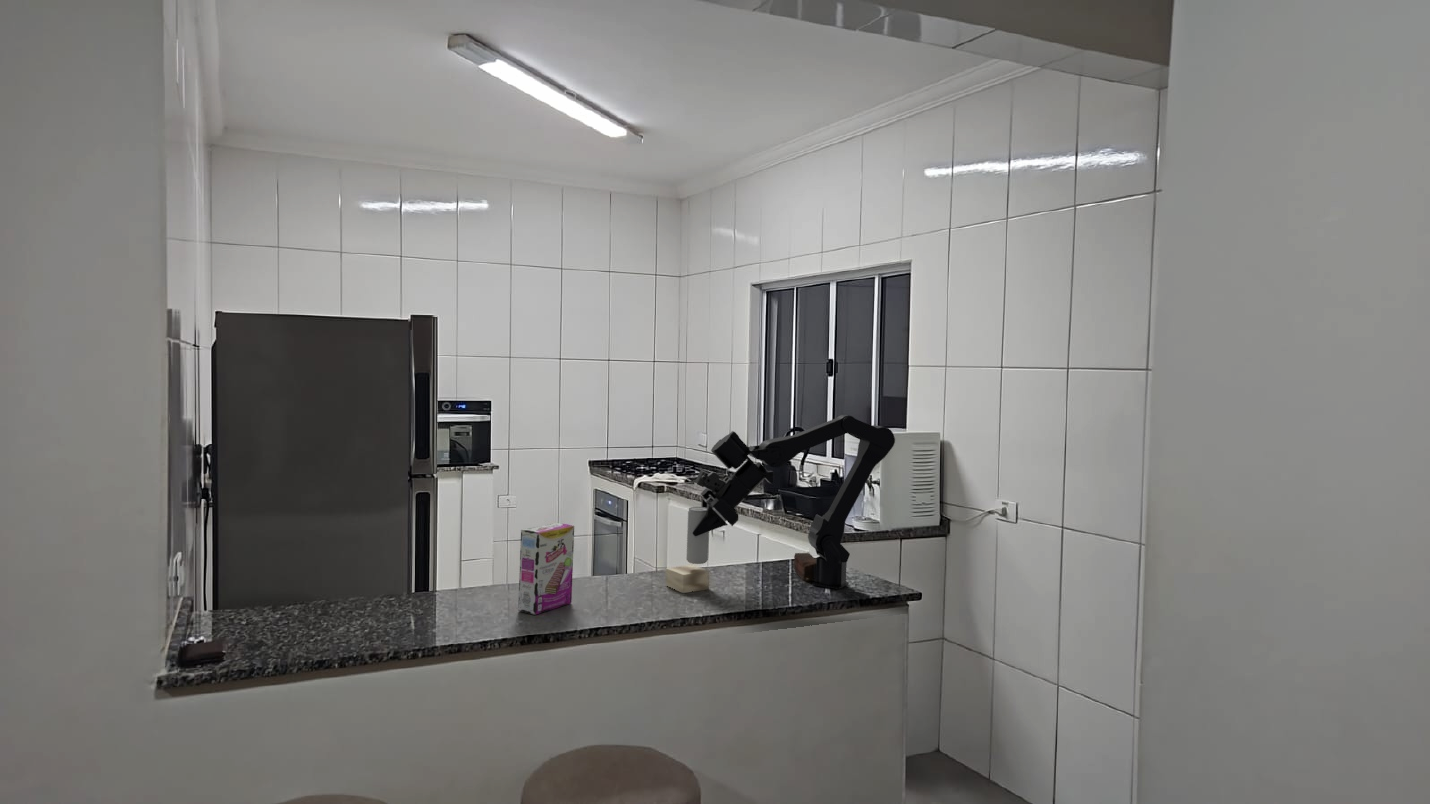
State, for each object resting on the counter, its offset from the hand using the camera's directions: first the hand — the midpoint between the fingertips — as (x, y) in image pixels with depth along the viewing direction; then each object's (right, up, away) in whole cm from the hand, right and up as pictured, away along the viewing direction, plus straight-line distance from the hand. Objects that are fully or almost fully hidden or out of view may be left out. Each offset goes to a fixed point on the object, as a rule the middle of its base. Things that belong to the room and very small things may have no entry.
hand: (692, 532), depth 197 cm
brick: (+27, -13, +14) cm, 33 cm away
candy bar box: (-29, -13, -19) cm, 37 cm away
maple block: (-1, -12, 0) cm, 12 cm away
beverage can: (+1, -7, +1) cm, 7 cm away
